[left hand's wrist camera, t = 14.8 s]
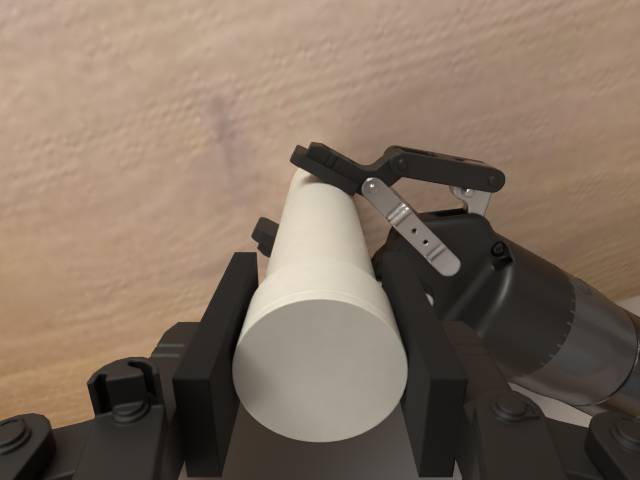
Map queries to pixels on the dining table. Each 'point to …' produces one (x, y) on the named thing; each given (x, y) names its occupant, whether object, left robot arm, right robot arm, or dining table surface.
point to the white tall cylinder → (318, 226)
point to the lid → (320, 352)
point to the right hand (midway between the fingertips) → (275, 191)
